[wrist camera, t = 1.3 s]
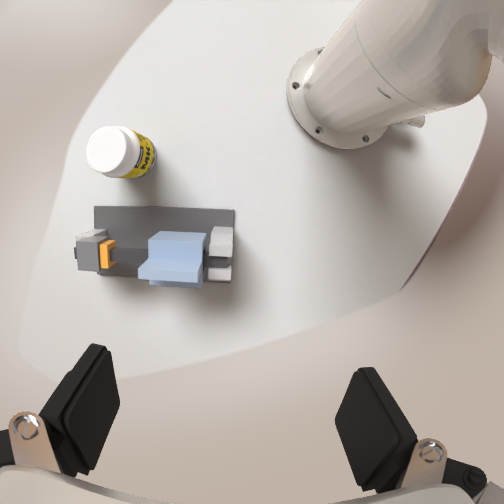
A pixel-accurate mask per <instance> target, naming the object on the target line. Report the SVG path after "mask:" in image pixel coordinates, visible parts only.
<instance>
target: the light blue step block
mask: <svg viewBox="0 0 504 504" xmlns="http://www.w3.org/2000/svg"><path fill="white" fill-rule="evenodd" d="M206 241H207V233H196V232H173V231H159V232H158V233H157V234H155V235H154V236H153V237H151V238H150V239H148V259H147V260H146V261H145V262H144V263H143V264H142V265H141V266H140V267H139V268H138V279H147V280H149V285H157V286H171V287H187V288H202V284H203V281H204V277H205V273H206V267H203V252H206Z"/></svg>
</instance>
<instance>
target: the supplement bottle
mask: <svg viewBox="0 0 504 504" xmlns="http://www.w3.org/2000/svg"><path fill="white" fill-rule="evenodd" d="M86 159H87V162H88V164H89V165H90V167H91V168H92V169H93V170H95V171H97V172H100V173H102V174H103V175H105V176H107V177H111V178H139V177H142V176H144V175H145V174H147V173H148V172H149V171H150V170H151V169H152V167H153V165H154V163H155V159H156V151H155V147H154V145H153V143H152V142H151V141H150V140H149V139H148V138H146V137H144V136H143V135H141V134H139V133H137V132H135V131H133V130H131V129H129V128H126V127H121V126H118V127H112V126H106V127H103V128H100V129H99V130H97V131H96V132H95V133H94V134H93V135H92V136H91V137H90V139H89V141H88V143H87V146H86Z"/></svg>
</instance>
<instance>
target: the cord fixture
mask: <svg viewBox="0 0 504 504" xmlns="http://www.w3.org/2000/svg"><path fill="white" fill-rule="evenodd" d="M233 219H234V210H226V209H205V208H178V207H139V206H94V229H93V230H91V231H89V232H86V233H84V234H81V235H79V236H76V247H75V248H74V253H75V259H77V262H78V270H83V271H94V272H97V274H102V275H114V276H126V277H138V268H139V267H140V266H141V265H142V264H143V263H144V262H145V261H146V260H147V259H148V239H150V238H151V237H153V236H154V235H155V234H157V233H158V232H159V231H173V232H196V233H207V241H206V252H203V267H206V273H205V277H204V281H203V282H221V283H230V281H231V266H232V250H233Z"/></svg>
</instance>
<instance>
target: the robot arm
mask: <svg viewBox="0 0 504 504" xmlns="http://www.w3.org/2000/svg"><path fill="white" fill-rule="evenodd" d="M492 55H493V56H495V57H497V58H498V59H500V60H501V61H502V63H503V64H504V0H362V1H361V2H360V4H359V5H358V6H357V7H356V9H355V10H354V11H353V12H352V13H351V15H350V16H349V17H348V18H347V20H346V21H345V22H344V23H343V25H342V26H341V27H340V29H339V30H338V31H337V32H336V34H335V35H334V36H333V38H332V39H331V40H330V41H329V43H328V44H327V45H326V47H321V48H317V49H314V50H312V51H309V52H307V53H306V54H305V55H303V56H302V57H301V58H300V59H299V60H298V61H297V62H296V64H295V65H294V66H293V68H292V70H291V72H290V75H289V78H288V83H287V96H288V102H289V105H290V108H291V111H292V112H293V114H294V116H295V118H296V120H297V121H298V122H299V124H300V125H301V126H302V128H303V129H304V130H305V131H307V132H308V133H309V134H310V135H311V136H312V137H314V138H315V139H317V140H318V141H320V142H322V143H324V144H326V145H328V146H331V147H335V148H339V149H356V148H361V147H365V146H368V145H370V144H372V143H374V142H375V141H377V140H378V139H379V138H380V137H381V136H382V135H383V134H384V132H385V131H386V130H387V128H388V126H389V124H393V123H398V124H399V123H400V122H401V121H402V122H405V123H407V124H409V125H412V126H415V127H418V128H421V127H422V126H423V125H424V123H425V116H424V115H425V114H428V113H432V112H436V111H440V110H444V109H447V108H451V107H455V106H459V105H461V104H464V103H466V102H468V101H470V100H472V99H473V98H474V97H475V96H476V95H477V94H478V93H479V92H480V91H481V90H482V88H483V86H484V84H485V82H486V80H487V77H488V74H489V71H490V66H491V60H492ZM292 86H295V87H296V89H294V88H293V87H292ZM316 129H317V130H318V131H319V133H318V134H317V133H316V131H315V130H316ZM362 138H364V141H363V139H362ZM119 406H120V399H119V394H118V390H117V384H116V379H115V373H114V368H113V362H112V356H111V352H110V351H108V350H107V348H106V347H105V346H102V345H98V344H93V343H92V344H91V345H90V346H89V347H88V348H87V350H86V351H85V352H84V354H83V355H82V357H81V358H80V359H79V361H78V362H77V363H76V365H75V366H74V368H73V369H72V370H71V371H69V372H68V373H67V374H66V375H65V377H64V378H63V380H62V381H61V382H60V384H59V385H58V387H57V388H56V390H55V391H54V392H53V394H52V395H51V397H50V398H49V400H48V401H47V403H46V404H45V406H44V407H43V409H42V410H41V412H40V413H39V415H37V414H35V413H32V412H21V413H18V414H16V415H15V416H13V418H12V419H11V420H10V423H9V429H6V430H2V431H0V504H176V503H169V502H164V501H158V500H152V499H148V498H143V497H139V496H134V495H131V494H126V493H123V492H118V491H115V490H111V489H108V488H104V487H101V486H97V485H95V484H91V483H88V482H86V481H82V480H80V479H76V478H75V477H76V475H77V473H78V472H79V473H82V474H85V475H88V474H89V471H90V470H94V469H95V466H96V464H97V461H98V459H99V456H100V453H101V451H102V448H103V446H104V443H105V441H106V438H107V436H108V433H109V431H110V428H111V426H112V424H113V421H114V419H115V416H116V414H117V412H118V409H119ZM335 425H336V428H337V430H338V433H339V436H340V438H341V441H342V444H343V447H344V450H345V452H346V455H347V457H348V461H349V463H350V466H351V469H352V472H353V475H354V478H355V480H356V483H357V485H358V486H361V487H362V490H363V492H364V491H368V490H372V489H375V490H376V493H377V494H376V495H372V496H367V497H363V498H358V499H353V500H347V501H342V502H337V503H331V504H504V489H502V488H501V487H499V486H498V485H496V484H494V483H493V482H491V481H490V482H489V483H487V478H486V475H485V473H484V472H483V471H482V470H481V469H480V468H477V467H475V466H471V465H468V464H465V463H462V462H459V461H456V460H452V459H450V458H447V451H446V448H445V447H444V445H443V444H442V443H440V442H439V441H437V440H435V439H430V438H427V439H423V440H420V441H418V440H417V435H416V434H415V432H414V430H413V429H412V427H411V425H410V424H409V422H408V420H407V419H406V417H405V416H404V414H403V412H402V411H401V409H400V407H399V406H398V404H397V403H396V401H395V400H394V398H393V396H392V395H391V393H390V392H389V390H388V389H387V387H386V386H385V384H384V382H383V381H382V379H381V378H380V376H379V374H378V373H377V372H376V370H375V369H374V368H373V367H364V368H359V369H358V370H357V371H356V372H354V374H353V376H352V378H351V381H350V384H349V386H348V389H347V391H346V393H345V396H344V398H343V401H342V403H341V405H340V408H339V410H338V412H337V415H336V417H335Z"/></svg>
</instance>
